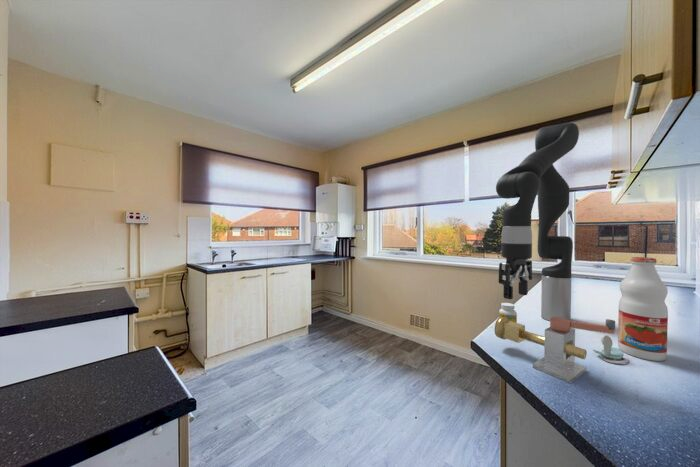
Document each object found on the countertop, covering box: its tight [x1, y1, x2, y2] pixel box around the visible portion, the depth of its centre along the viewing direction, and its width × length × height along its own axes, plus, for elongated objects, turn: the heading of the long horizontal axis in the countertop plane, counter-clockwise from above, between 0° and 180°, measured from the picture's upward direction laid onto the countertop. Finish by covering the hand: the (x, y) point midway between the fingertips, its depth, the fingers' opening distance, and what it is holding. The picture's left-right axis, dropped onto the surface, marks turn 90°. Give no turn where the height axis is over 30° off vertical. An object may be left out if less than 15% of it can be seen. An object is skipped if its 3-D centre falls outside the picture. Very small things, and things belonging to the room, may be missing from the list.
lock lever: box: [549, 317, 616, 335], centre depth 64 cm, size 12×4×4 cm, turn 60°
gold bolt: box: [494, 316, 588, 360], centre depth 71 cm, size 6×20×6 cm, turn 31°
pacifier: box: [592, 335, 629, 365], centre depth 71 cm, size 7×6×6 cm
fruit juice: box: [617, 256, 669, 362], centre depth 74 cm, size 9×9×28 cm
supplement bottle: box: [498, 302, 518, 323], centre depth 91 cm, size 5×5×10 cm
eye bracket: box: [532, 326, 588, 384], centre depth 66 cm, size 10×8×10 cm
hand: (515, 296), depth 75 cm, fingers open, 8 cm apart
